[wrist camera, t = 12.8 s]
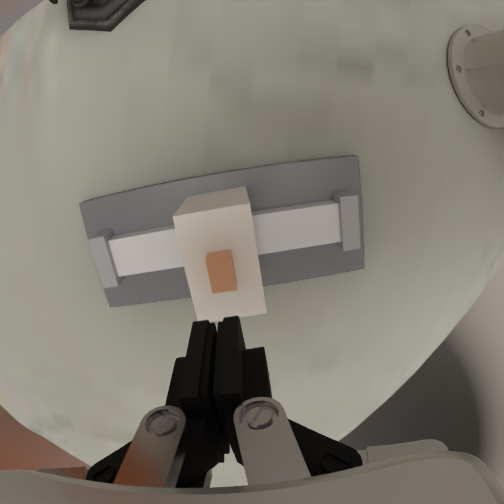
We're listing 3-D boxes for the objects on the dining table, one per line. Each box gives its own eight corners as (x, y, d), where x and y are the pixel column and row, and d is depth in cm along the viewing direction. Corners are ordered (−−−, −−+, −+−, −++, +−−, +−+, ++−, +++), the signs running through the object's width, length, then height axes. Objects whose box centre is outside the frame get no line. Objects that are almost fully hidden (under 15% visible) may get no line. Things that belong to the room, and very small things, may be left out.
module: (245, 186, 27) (251, 207, 19) (258, 271, 30) (268, 322, 22) (188, 196, 27) (168, 221, 19) (206, 279, 30) (196, 332, 22)
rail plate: (353, 155, 28) (367, 157, 25) (360, 264, 32) (372, 277, 29) (84, 201, 28) (68, 208, 25) (113, 301, 32) (103, 318, 29)
